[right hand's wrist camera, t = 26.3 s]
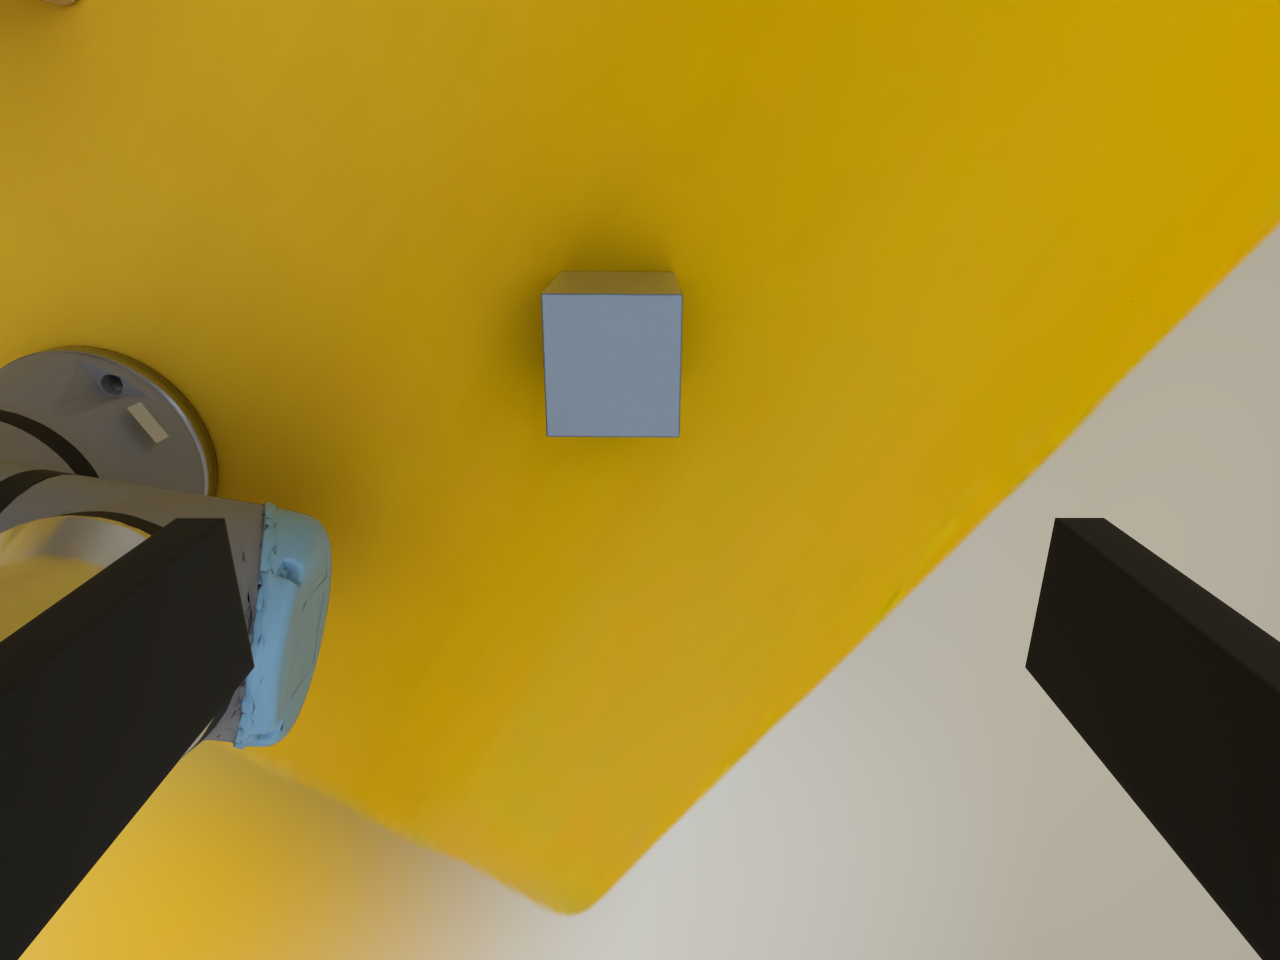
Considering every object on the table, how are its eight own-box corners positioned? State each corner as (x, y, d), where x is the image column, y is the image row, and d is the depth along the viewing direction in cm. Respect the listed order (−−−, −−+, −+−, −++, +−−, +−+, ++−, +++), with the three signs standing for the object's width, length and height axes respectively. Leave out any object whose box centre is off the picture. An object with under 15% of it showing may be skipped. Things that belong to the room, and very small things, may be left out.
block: (672, 389, 52) (679, 437, 42) (564, 388, 52) (546, 436, 42) (674, 272, 49) (682, 294, 39) (560, 271, 49) (540, 293, 39)
